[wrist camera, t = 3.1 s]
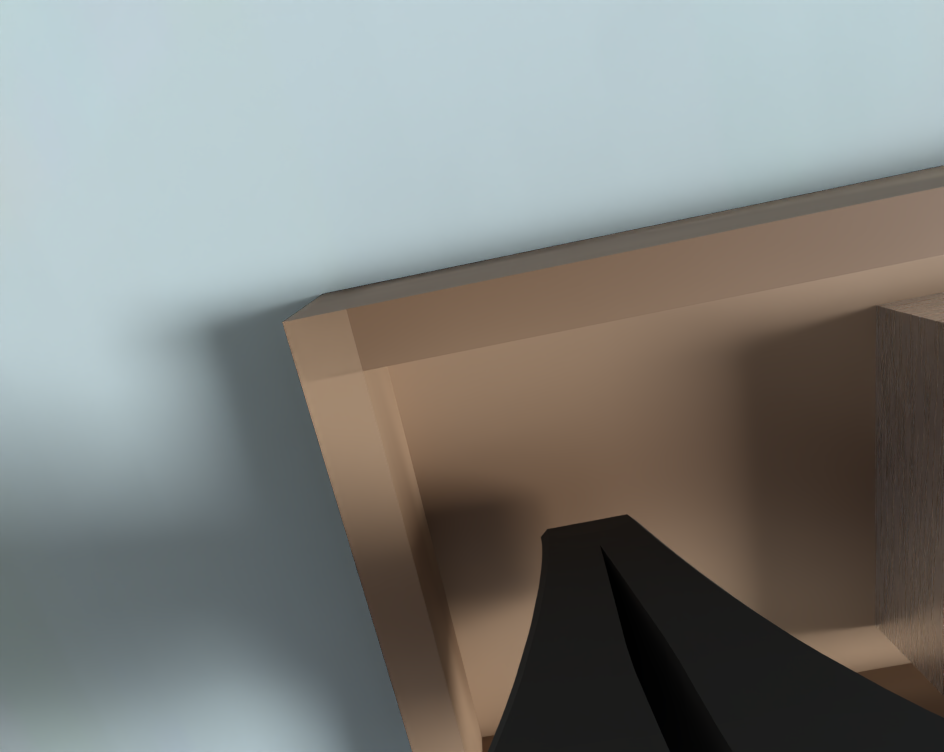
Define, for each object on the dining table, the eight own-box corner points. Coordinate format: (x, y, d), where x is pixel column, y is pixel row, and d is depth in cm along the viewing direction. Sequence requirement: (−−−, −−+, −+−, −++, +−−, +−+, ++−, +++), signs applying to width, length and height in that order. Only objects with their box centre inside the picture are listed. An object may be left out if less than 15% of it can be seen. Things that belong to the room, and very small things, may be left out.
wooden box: (1158, 630, 11) (1315, 728, 9) (450, 752, 12) (448, 870, 10) (1249, 102, 9) (1500, 72, 7) (323, 293, 9) (281, 322, 7)
